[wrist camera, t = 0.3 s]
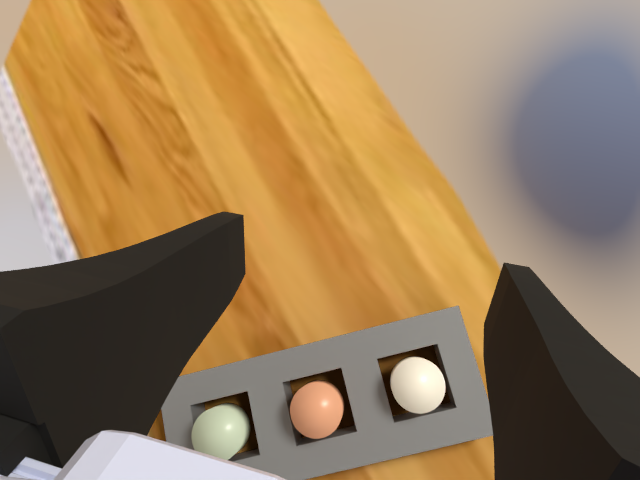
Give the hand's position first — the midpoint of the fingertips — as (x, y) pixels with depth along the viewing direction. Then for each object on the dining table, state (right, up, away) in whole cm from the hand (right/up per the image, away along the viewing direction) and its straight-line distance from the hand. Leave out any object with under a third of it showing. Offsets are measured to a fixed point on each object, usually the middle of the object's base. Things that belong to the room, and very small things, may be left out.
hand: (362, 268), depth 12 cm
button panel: (-1, -13, +26) cm, 30 cm away
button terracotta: (-1, -13, +24) cm, 27 cm away
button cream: (+6, -11, +24) cm, 27 cm away
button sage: (-9, -15, +25) cm, 30 cm away
